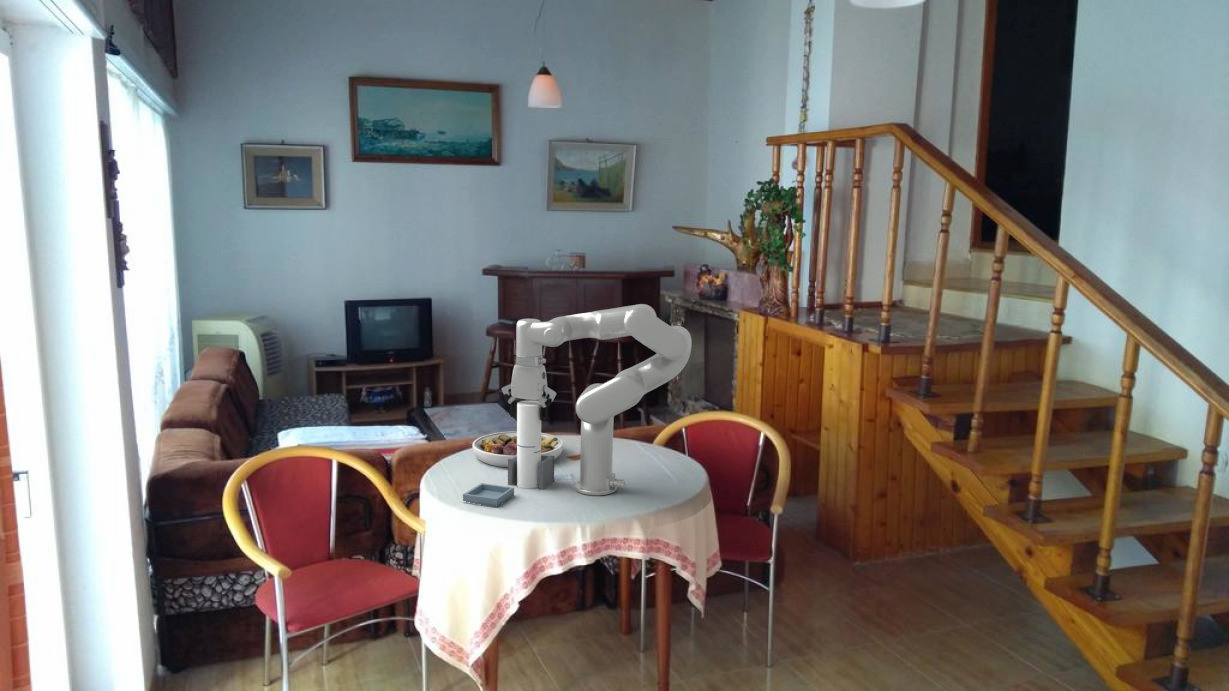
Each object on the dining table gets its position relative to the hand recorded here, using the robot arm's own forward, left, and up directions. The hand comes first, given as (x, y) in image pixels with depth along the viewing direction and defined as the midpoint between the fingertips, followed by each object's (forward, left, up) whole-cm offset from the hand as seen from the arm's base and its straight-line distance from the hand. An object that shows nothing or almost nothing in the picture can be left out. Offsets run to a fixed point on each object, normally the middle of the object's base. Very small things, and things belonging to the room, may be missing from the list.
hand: (528, 417), depth 248 cm
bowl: (+16, -25, -21) cm, 36 cm away
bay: (0, -1, -21) cm, 21 cm away
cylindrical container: (0, 0, -21) cm, 21 cm away
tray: (+5, +16, -21) cm, 26 cm away
